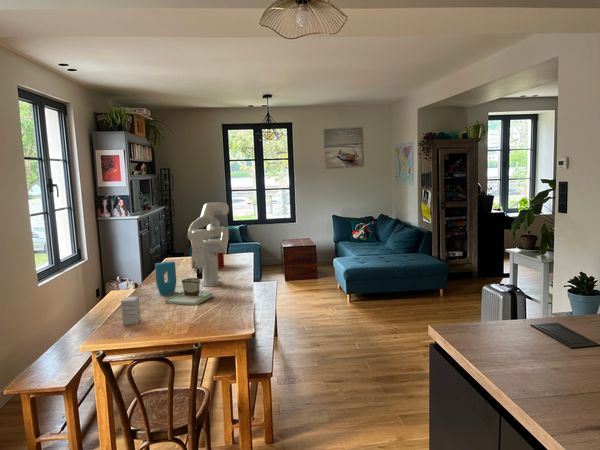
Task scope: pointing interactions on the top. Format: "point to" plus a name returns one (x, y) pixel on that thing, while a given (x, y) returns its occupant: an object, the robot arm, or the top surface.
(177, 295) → the board
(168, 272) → the block
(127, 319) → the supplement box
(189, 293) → the food container
